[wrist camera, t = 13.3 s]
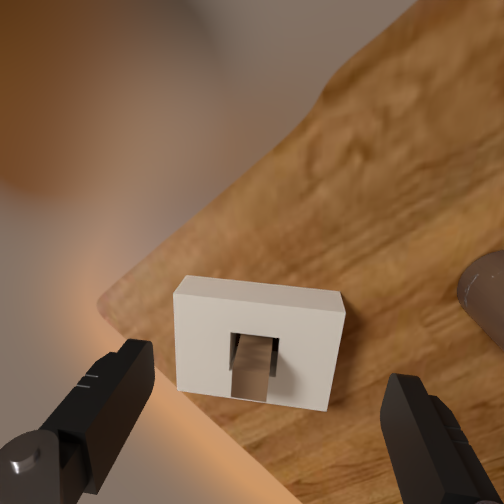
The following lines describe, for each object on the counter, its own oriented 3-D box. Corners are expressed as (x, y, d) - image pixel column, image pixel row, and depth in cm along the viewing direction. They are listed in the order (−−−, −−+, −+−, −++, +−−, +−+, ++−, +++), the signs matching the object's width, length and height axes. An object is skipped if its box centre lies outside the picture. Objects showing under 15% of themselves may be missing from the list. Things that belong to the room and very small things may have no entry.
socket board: (339, 291, 40) (345, 312, 35) (323, 382, 46) (326, 411, 41) (186, 275, 42) (173, 293, 37) (188, 364, 47) (177, 390, 43)
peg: (274, 321, 43) (269, 374, 34) (271, 345, 44) (266, 402, 35) (245, 317, 43) (232, 369, 34) (243, 341, 45) (230, 397, 35)
